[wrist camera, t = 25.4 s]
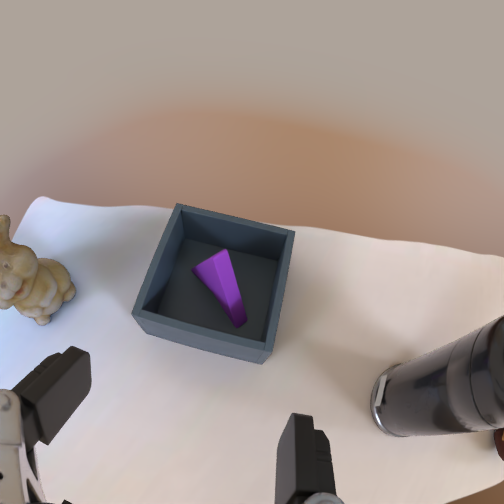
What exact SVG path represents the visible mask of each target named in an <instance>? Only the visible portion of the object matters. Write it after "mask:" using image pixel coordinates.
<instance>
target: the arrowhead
mask: <svg viewBox="0 0 504 504" xmlns="http://www.w3.org/2000/svg"><path fill="white" fill-rule="evenodd" d="M191 270H192V272H193V273H194V274H195V275H196V276H197V277H198V278H199V279H200V280H201V281H202V282H203V283H204V284H205V285H206V286H207V287H208V288H209V289H210V290H211V291H212V292H213V294H214V296H215V297H216V299H217V300H218V302H219V303H220V305H221V306H222V308H223V310H224V311H225V313H226V314H227V316H228V317H229V319H230V320H231V322H232V323H233V325H234V326H235V328H238V327H240V326H241V325H243V324H244V323H245V322H247V316H246V313H245V309H244V306H243V302H242V299H241V295H240V292H239V289H238V285H237V282H236V278H235V275H234V271H233V268H232V264H231V261H230V258H229V254H228V251H227V250H226V249H224V250H222V251H220V252H218V253H217V254H215V255H213V256H212V257H210V258H208V259H206V260H205V261H203V262H202V263H200V264H198V265H197V266H195V267H194V268H192V269H191Z"/></svg>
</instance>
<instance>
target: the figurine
mask: <svg viewBox="0 0 504 504" xmlns="http://www.w3.org/2000/svg"><path fill="white" fill-rule="evenodd" d="M9 227H10V217H9V216H7V215H0V309H8V308H10V307H11V306H13V305H14V306H15V308H16V309H17V310H18V311H19V312H20V313H21V314H22V315H24V316H27V317H29V318H34V319H35V321H36V323H37V324H38V325H40V326H43V325H46V324H47V323H49V322H50V315H51V314H53V313H55V312H56V311H58V310H59V309H60V307H61V305H62V303H63V302H64V301H70V300H71V299H72V298H73V297H74V296H75V293H76V288H75V286H74V285H73V283H72V282H71V279H70V275H69V273H68V271H67V269H66V268H65V267H64V266H63V265H62V264H60V263H59V262H57V261H55V260H52V259H48V258H39V259H37V257H36V254H35V253H34V251H33V250H32V249H31V248H29V247H27V246H24V245H18V244H15V243H13V242H11V241H10V238H9Z"/></svg>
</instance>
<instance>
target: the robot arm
mask: <svg viewBox="0 0 504 504" xmlns="http://www.w3.org/2000/svg"><path fill="white" fill-rule="evenodd" d="M90 388H91V365H90V354H89V353H88V352H86V351H83V350H81V349H79V348H77V347H74V346H70V347H69V348H68V349H67V350H66V351H65V352H64V353H63V354H60V353H56V354H53V355H51V356H48V357H47V358H46V359H44V360H43V361H42V362H41V363H40V365H38V366H37V367H36V368H34V371H31V372H30V373H29V374H28V375H27V376H26V377H25V378H24V379H22V380H21V381H20V382H19V383H18V384H17V385H16V386H15V387H14V388H13V389H12V390H7V389H0V504H53V503H47V501H46V498H45V495H44V492H43V489H42V486H41V481H40V475H39V469H38V462H37V455H36V448H35V444H36V443H37V442H38V441H41V442H43V443H44V444H46V445H49V444H50V442H51V441H52V440H53V438H54V437H55V436H56V434H57V433H58V432H59V430H60V429H61V428H62V427H63V425H64V424H65V423H66V421H67V420H68V419H69V418H70V416H71V415H72V414H73V412H74V411H75V410H76V409H77V407H78V406H79V405H80V404H81V402H82V401H83V400H84V399H85V397H86V396H87V395H88V393H89V391H90ZM371 412H372V416H373V418H374V421H375V422H376V424H377V426H378V427H379V428H380V429H381V430H382V431H383V432H385V433H386V434H388V435H391V436H394V437H408V436H431V435H447V434H460V433H470V432H478V431H485V430H492V429H499V428H504V315H503V316H501V317H499V318H497V319H495V320H494V321H492V322H490V323H488V324H486V325H484V326H483V327H481V328H479V329H477V330H475V331H473V332H471V333H469V334H467V335H465V336H463V337H461V338H459V339H457V340H455V341H453V342H451V343H449V344H447V345H445V346H443V347H440V348H438V349H436V350H434V351H432V352H429V353H427V354H425V355H422V356H420V357H418V358H415V359H413V360H410V361H408V362H405V363H402V364H398V365H396V366H393V367H391V368H389V369H388V370H386V371H385V372H384V373H383V374H382V375H381V376H380V377H379V379H378V380H377V382H376V383H375V386H374V388H373V391H372V395H371ZM330 452H331V450H330V443H329V440H328V438H327V437H326V435H325V433H324V432H323V431H322V430H315V429H314V424H313V417H312V416H309V415H303V414H297V413H292V414H291V416H290V418H289V420H288V422H287V425H286V427H285V429H284V431H283V433H282V435H281V437H280V440H279V443H278V448H277V463H276V487H275V504H344V502H343V501H342V500H341V499H340V498H338V497H337V495H336V489H335V481H334V473H333V465H332V462H331V461H332V458H331V454H330ZM62 504H72V503H70V502H68V501H66V500H64V501H63V503H62Z"/></svg>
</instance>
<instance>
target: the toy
mask: <svg viewBox="0 0 504 504" xmlns="http://www.w3.org/2000/svg"><path fill="white" fill-rule="evenodd" d="M494 439H495V444H496V448H497V451H498V454H499V456H500V457H501V458H502V460H503V461H504V428H499V429H497V430H496V431H495V433H494Z"/></svg>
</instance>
